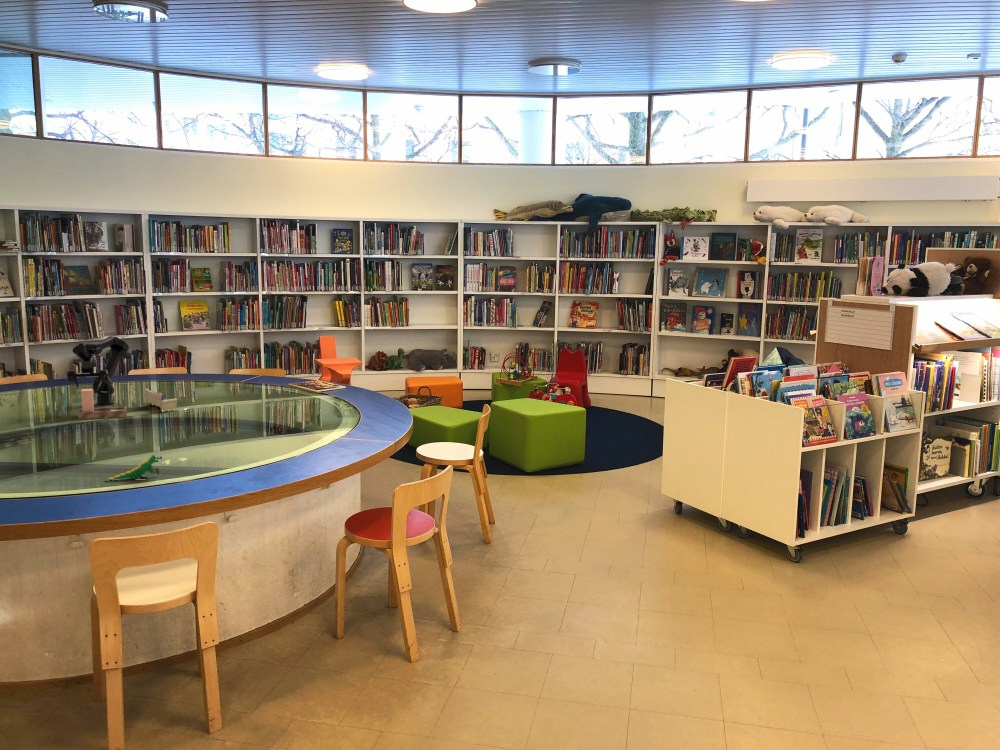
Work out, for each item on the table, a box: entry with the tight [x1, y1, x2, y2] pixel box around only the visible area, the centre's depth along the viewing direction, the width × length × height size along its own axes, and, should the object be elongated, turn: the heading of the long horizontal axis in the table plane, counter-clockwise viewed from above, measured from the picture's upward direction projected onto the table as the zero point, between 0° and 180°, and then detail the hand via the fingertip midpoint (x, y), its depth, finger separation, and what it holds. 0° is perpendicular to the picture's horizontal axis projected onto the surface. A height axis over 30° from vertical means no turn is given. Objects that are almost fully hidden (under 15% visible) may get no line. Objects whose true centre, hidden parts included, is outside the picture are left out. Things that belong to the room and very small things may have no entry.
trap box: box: [77, 406, 128, 420], centre depth 407 cm, size 22×10×4 cm, turn 115°
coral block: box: [80, 388, 95, 412], centre depth 403 cm, size 5×5×12 cm
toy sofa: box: [144, 388, 178, 411], centre depth 430 cm, size 21×9×10 cm, turn 48°
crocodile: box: [104, 454, 163, 482], centre depth 305 cm, size 20×6×9 cm, turn 114°
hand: (87, 388), depth 409 cm, fingers open, 9 cm apart
